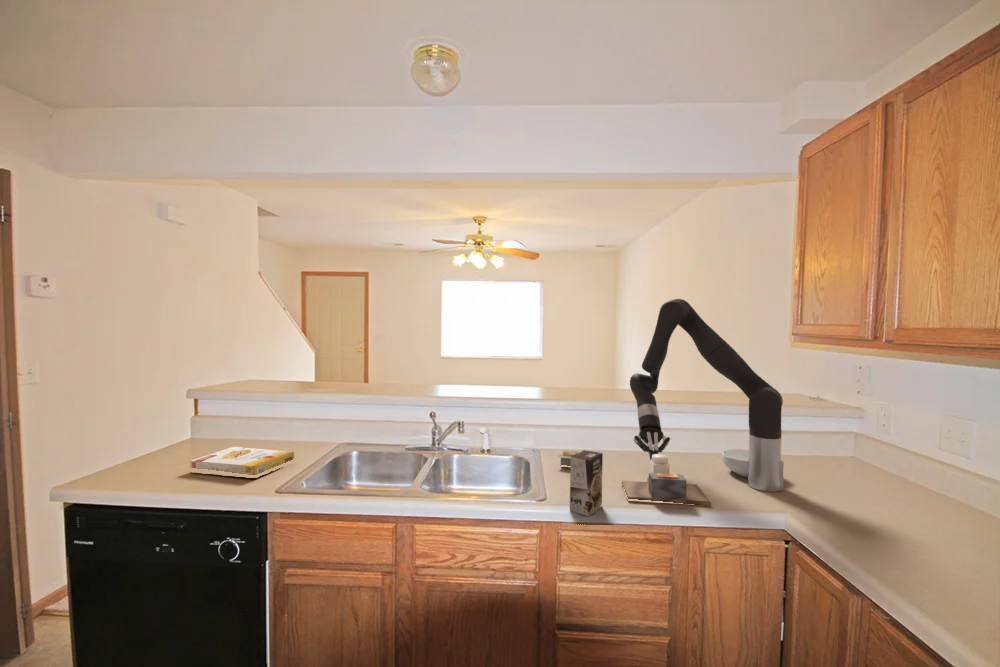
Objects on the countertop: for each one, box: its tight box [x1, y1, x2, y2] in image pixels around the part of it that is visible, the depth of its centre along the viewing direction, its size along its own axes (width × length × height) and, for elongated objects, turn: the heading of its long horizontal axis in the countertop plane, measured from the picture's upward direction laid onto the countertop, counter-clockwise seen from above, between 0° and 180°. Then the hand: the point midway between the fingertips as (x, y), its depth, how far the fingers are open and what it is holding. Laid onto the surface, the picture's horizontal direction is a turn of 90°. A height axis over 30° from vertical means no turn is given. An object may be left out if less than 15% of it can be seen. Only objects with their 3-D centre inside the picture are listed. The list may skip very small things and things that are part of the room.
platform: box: [557, 449, 579, 466], centre depth 170 cm, size 12×18×7 cm, turn 71°
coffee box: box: [569, 449, 604, 517], centre depth 133 cm, size 9×6×16 cm
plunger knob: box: [649, 453, 670, 474], centre depth 149 cm, size 5×5×9 cm
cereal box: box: [189, 446, 295, 475], centre depth 168 cm, size 20×6×28 cm
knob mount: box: [621, 472, 712, 507], centre depth 144 cm, size 24×14×8 cm, turn 83°
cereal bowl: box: [721, 448, 749, 478], centre depth 164 cm, size 17×17×7 cm
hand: (655, 462), depth 156 cm, fingers closed
